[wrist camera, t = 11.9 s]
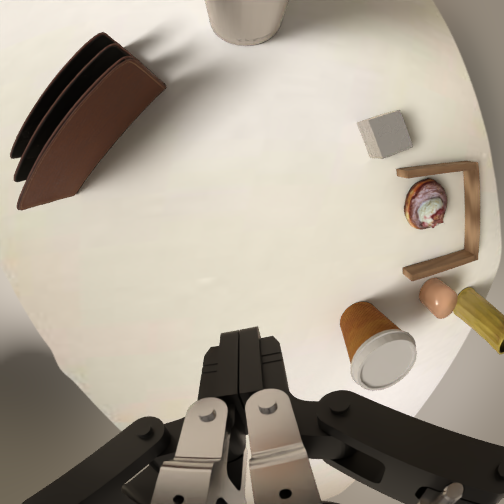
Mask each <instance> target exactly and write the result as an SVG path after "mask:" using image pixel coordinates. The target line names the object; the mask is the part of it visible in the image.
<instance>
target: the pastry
mask: <svg viewBox="0 0 504 504" xmlns="http://www.w3.org/2000/svg"><path fill="white" fill-rule="evenodd" d="M446 208H447V196H446V193H445V190H444V188H443V187H442V186H441V185H440V184H439V183H438V182H436V181H435V180H433V179H429V178H427V179H424V180H422V181H419V182H417V183H415V184H414V185H413V186H412V187H411V189H410V190H409V192H408V194H407V196H406V201H405V205H404V212H405V216H406V218H407V220H408V222H409V224H410V225H411V226H412V227H414V228H416V229H426V228H430V227H432V228H434V227H435V226H437V225H438V224H439V223H444V222H443V218H444V214H445V211H446Z"/></svg>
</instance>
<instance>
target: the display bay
mask: <svg viewBox="0 0 504 504" xmlns="http://www.w3.org/2000/svg"><path fill="white" fill-rule="evenodd" d="M396 170H397V176H399V177H404V178H414V177H421V176H428V175H435V174H442V173H450V172H458V171H463V174H464V190H465V243H464V250H461V251H457V252H454V253H451V254H448V255H444V256H441V257H438V258H434V259H431V260H428V261H424V262H421V263H417V264H414V265H410V266H407V267H403V274H404V275H405V276H406V277H408V278H409V279H410V280H411V281H415V280H418V279H421V278H424V277H428V276H431V275H434V274H437V273H440V272H443V271H446V270H449V269H452V268H455V267H458V266H461V265H464V264H467V263H469V262H472V261H475V260H478V252H479V236H480V181H479V166H478V162H471V161H459V162H449V163H440V164H431V165H423V166H415V167H407V168H400V169H396Z"/></svg>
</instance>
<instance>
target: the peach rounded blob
mask: <svg viewBox="0 0 504 504" xmlns="http://www.w3.org/2000/svg"><path fill="white" fill-rule="evenodd" d="M419 299H420V301H421V302H422V303H423V304H424V305H425V306H426V307H427V308H428V309H429V310H430V311H431V312H432V313H433V314H434V315H435V316H436V317H437V318H439V319H442V318H445V317H447V316H448V315H450V314H451V313H452V311H453V310H454V309H455V307H456V304H457V300H458V297H457V294H456V292H455V291H453V290H452V289H451V288H450V287H448V286H447V285H446V284H444V283H443V282H442V281H441V280H439V279H438V278H431V279H429V280H427V281H426V282H425V283H424V284H423V286H422V288H421V290H420V293H419Z"/></svg>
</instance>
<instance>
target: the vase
mask: <svg viewBox="0 0 504 504" xmlns="http://www.w3.org/2000/svg"><path fill="white" fill-rule="evenodd" d="M457 297H458V300H457V304H456V307H455V309H454V310H453V311H454V314H455V315H456V316H458V317H459V318H461V319H462V320H463V321H464V322H465V323H467V324H468V325H469V326H470V327H472V328H473V329H474V330H475V331H476V332H477V333H478V334H479V335H480V336H481V337H483V338H484V339H485V340H486V341H487V342H488V343H489V344H490V345H491V346H492V347H493V348H494V349H495V350H496V351H497V352H498V353H499V354H503V353H504V315H503V314H502V313H501V312H499V311H498V310H497V309H496V308H495V307H494V306H493V305H491V304H490V303H489V302H488V301H487V300H485V299H484V298H483V297H482V296H480V295H479V294H478V293H476V292H475V290H474V289H473V288H466V289H464V290H463V291H461V292H460V294H459V295H458V296H457Z"/></svg>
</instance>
